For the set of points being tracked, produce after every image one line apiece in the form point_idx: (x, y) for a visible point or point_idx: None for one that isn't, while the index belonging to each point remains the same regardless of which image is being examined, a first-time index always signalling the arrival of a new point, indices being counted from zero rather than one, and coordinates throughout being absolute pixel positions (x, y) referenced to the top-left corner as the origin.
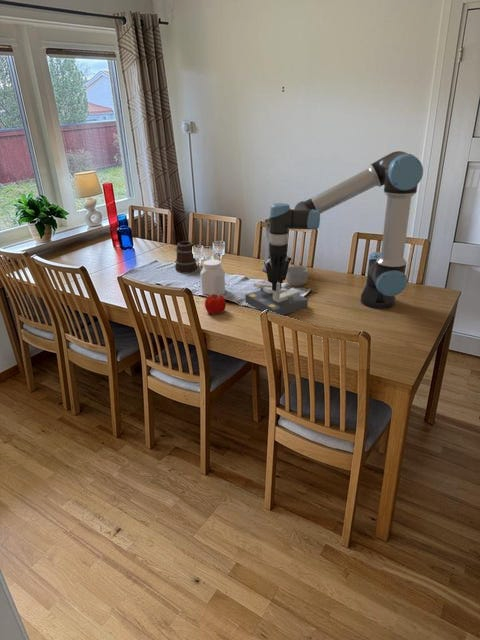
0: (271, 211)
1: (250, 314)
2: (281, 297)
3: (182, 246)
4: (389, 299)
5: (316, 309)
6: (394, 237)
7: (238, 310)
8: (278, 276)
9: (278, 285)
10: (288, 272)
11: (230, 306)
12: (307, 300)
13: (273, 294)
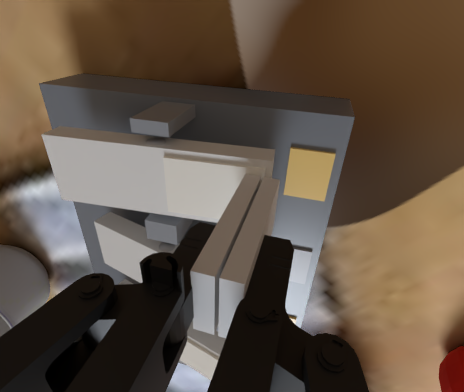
0: None
1: (399, 234)
2: (230, 165)
3: None
4: None
5: (48, 7)
6: None
7: (397, 299)
8: (151, 388)
9: (229, 260)
10: (10, 327)
11: (382, 341)
12: (49, 81)
13: (271, 231)
